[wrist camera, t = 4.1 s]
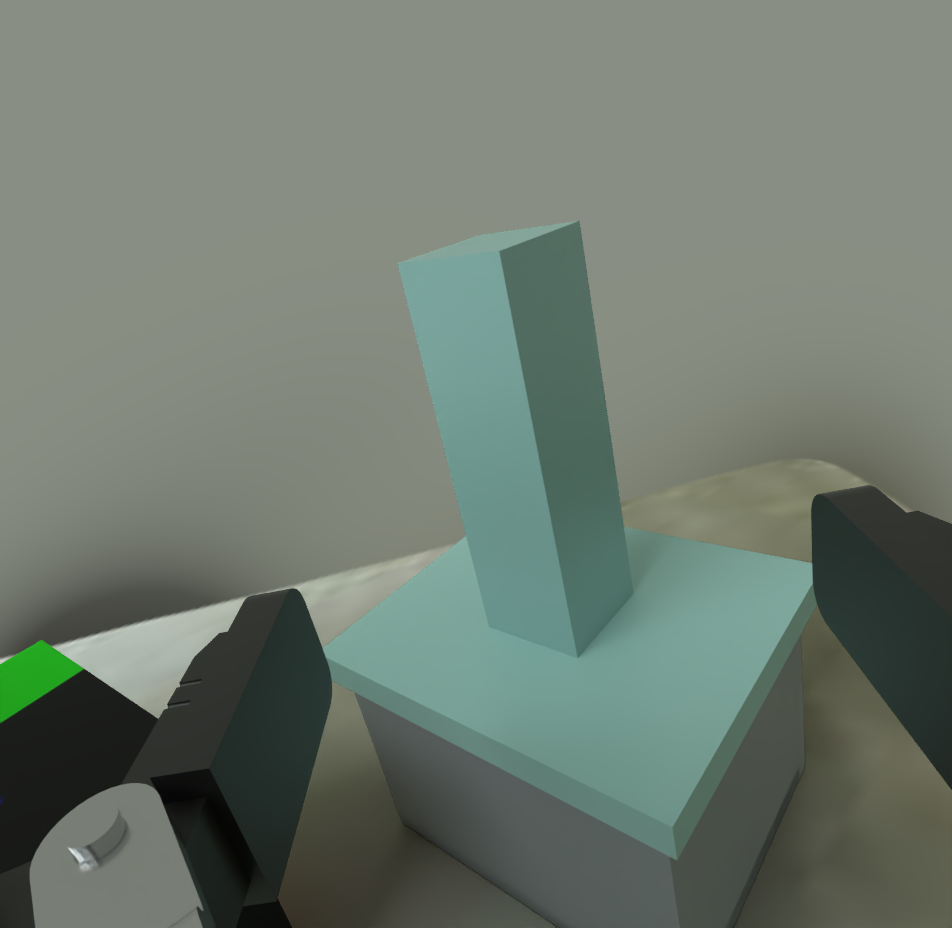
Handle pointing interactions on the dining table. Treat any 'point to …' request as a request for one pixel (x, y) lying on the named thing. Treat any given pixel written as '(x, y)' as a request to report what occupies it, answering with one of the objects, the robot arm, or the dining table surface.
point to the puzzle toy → (68, 753)
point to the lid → (564, 567)
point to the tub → (599, 824)
